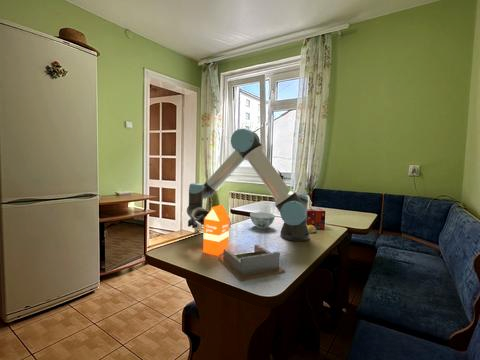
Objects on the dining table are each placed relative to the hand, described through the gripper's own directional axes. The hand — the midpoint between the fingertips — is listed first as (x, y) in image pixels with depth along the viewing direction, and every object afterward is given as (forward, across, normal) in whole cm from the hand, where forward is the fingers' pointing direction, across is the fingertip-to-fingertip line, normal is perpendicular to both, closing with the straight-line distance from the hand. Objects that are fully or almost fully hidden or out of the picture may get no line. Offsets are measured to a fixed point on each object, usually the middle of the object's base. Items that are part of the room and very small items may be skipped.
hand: (215, 226), depth 109 cm
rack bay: (+19, -7, -11) cm, 23 cm away
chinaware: (-27, -41, -11) cm, 50 cm away
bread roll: (-12, -63, -11) cm, 65 cm away
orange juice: (0, 0, -11) cm, 11 cm away
